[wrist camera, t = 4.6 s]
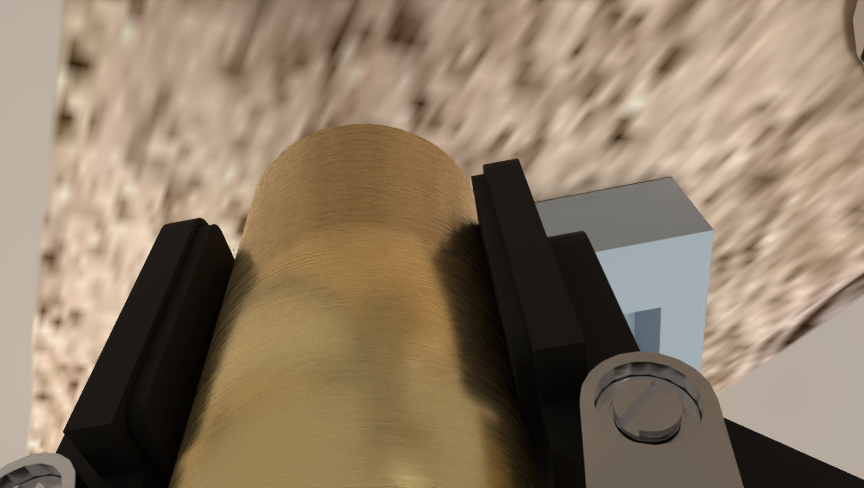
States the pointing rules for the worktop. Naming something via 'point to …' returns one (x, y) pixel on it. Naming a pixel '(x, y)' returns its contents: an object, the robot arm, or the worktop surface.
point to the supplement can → (859, 29)
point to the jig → (647, 259)
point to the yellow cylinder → (358, 332)
